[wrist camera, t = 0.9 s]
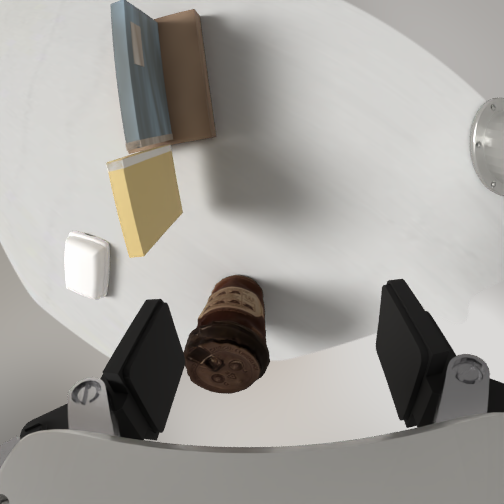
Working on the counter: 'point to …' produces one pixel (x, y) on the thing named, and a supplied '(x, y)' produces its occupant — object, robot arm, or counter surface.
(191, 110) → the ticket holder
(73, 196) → the counter surface
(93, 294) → the soap
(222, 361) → the coffee cup
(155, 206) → the yellow flat slab
